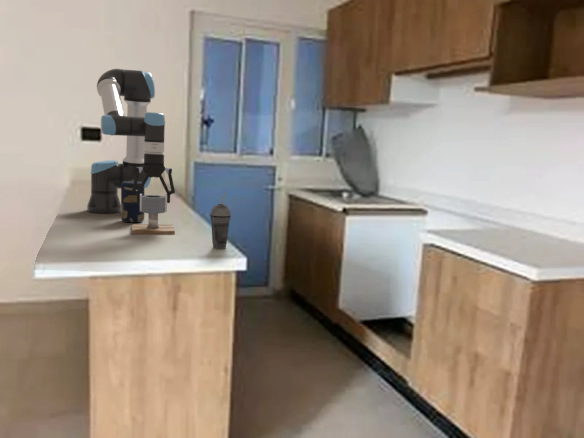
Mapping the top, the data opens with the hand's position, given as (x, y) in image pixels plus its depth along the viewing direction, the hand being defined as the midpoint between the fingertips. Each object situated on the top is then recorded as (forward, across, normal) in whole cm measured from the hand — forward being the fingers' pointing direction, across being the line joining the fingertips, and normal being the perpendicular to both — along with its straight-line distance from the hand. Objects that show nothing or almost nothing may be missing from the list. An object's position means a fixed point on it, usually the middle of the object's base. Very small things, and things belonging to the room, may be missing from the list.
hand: (153, 211), depth 214 cm
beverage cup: (+8, +22, -31) cm, 39 cm away
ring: (0, 0, 0) cm, 0 cm away
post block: (+8, 0, 0) cm, 8 cm away
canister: (+8, -8, +20) cm, 23 cm away
